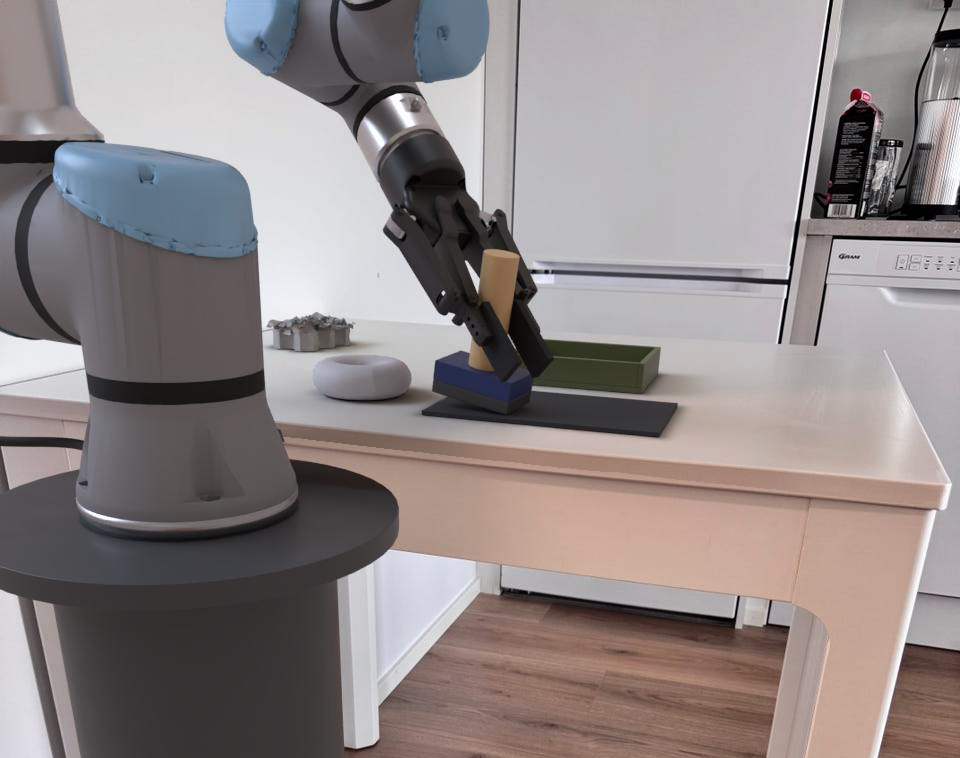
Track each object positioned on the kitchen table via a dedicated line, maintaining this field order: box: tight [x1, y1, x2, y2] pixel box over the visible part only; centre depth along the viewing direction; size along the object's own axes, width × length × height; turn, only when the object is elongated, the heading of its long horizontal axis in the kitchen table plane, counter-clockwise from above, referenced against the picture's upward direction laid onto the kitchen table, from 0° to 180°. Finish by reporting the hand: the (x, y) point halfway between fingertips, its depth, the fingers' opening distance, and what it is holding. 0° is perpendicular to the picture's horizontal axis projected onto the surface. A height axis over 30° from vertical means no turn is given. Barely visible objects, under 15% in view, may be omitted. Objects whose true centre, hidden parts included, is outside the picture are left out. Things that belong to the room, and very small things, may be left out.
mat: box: [421, 390, 679, 438], centre depth 91 cm, size 22×14×1 cm, turn 73°
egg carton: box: [266, 311, 356, 353], centre depth 124 cm, size 11×8×4 cm
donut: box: [311, 354, 413, 401], centre depth 96 cm, size 10×4×10 cm
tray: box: [514, 338, 662, 395], centre depth 107 cm, size 15×13×3 cm
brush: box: [431, 249, 534, 415], centre depth 86 cm, size 8×5×13 cm, turn 63°
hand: (527, 369), depth 84 cm, fingers closed on brush, 3 cm apart
